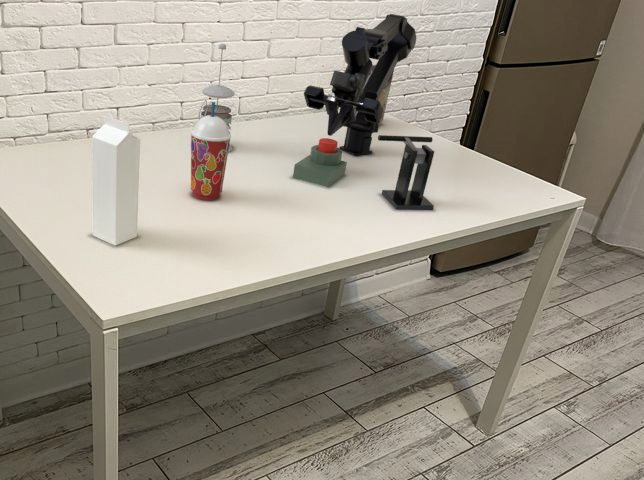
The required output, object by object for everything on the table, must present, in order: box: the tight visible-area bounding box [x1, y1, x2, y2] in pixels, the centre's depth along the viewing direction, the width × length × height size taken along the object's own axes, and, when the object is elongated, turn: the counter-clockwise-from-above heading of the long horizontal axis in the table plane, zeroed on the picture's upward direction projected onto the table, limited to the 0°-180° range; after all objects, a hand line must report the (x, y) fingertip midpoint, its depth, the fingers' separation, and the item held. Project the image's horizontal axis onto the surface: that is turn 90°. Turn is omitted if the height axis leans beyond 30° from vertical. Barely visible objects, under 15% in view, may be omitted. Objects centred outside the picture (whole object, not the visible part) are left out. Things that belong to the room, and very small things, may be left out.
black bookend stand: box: [381, 144, 435, 211], centre depth 165 cm, size 9×9×13 cm
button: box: [317, 137, 339, 154], centre depth 176 cm, size 4×4×2 cm
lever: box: [377, 134, 433, 165], centre depth 165 cm, size 10×13×2 cm
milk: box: [91, 115, 141, 246], centre depth 133 cm, size 6×6×22 cm
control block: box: [292, 144, 347, 188], centre depth 176 cm, size 12×9×6 cm
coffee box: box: [363, 64, 395, 126], centre depth 216 cm, size 9×6×16 cm
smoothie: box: [190, 101, 232, 201], centre depth 155 cm, size 8×8×20 cm
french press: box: [198, 43, 236, 153], centre depth 181 cm, size 10×12×25 cm
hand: (329, 134), depth 174 cm, fingers closed
